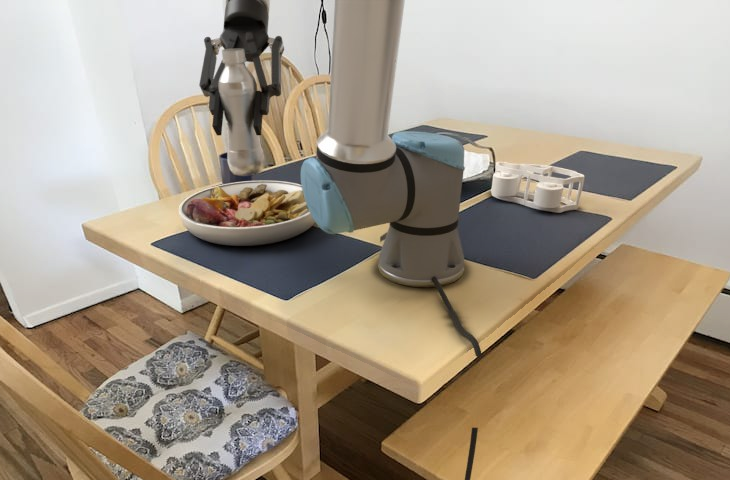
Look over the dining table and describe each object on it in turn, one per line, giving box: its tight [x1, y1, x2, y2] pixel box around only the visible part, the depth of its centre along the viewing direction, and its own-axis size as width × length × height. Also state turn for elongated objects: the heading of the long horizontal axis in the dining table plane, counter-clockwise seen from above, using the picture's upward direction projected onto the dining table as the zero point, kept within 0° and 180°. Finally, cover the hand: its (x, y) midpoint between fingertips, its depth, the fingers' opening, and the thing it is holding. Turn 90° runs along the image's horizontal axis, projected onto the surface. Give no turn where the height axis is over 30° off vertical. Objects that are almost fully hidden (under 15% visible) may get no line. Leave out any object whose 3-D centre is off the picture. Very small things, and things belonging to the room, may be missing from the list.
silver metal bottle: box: [218, 48, 265, 176], centre depth 93 cm, size 6×7×20 cm
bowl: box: [178, 179, 316, 247], centre depth 117 cm, size 30×30×8 cm
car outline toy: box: [490, 161, 585, 214], centre depth 125 cm, size 20×11×7 cm, turn 42°
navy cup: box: [217, 151, 254, 185], centre depth 135 cm, size 8×8×9 cm
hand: (237, 130), depth 91 cm, fingers closed on silver metal bottle, 6 cm apart
